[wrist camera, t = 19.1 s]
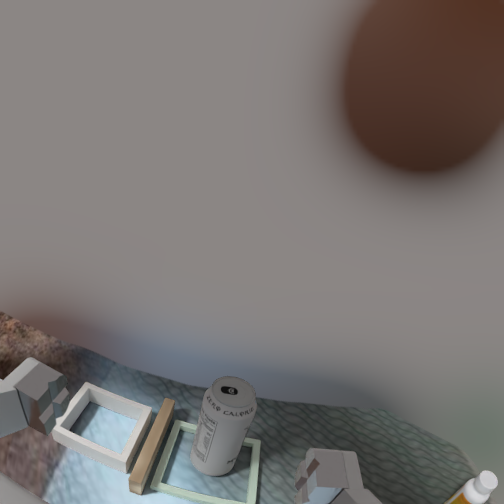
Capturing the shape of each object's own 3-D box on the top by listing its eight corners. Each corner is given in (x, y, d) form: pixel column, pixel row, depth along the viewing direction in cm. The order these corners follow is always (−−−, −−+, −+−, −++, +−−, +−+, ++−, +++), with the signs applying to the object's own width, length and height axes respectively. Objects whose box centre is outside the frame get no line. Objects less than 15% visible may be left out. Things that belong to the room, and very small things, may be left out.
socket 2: (150, 488, 29) (150, 485, 29) (175, 423, 41) (175, 419, 41) (252, 513, 29) (254, 510, 28) (259, 444, 41) (260, 440, 41)
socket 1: (54, 440, 30) (50, 427, 29) (87, 394, 40) (86, 381, 40) (126, 473, 30) (125, 462, 29) (151, 420, 40) (152, 407, 40)
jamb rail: (129, 491, 27) (128, 479, 26) (163, 412, 43) (165, 397, 42) (141, 495, 27) (140, 483, 26) (172, 415, 43) (175, 400, 42)
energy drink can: (233, 481, 33) (263, 413, 29) (187, 475, 33) (204, 405, 28) (232, 449, 39) (259, 377, 35) (191, 442, 38) (207, 368, 34)
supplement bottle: (460, 529, 24) (501, 494, 21) (435, 523, 26) (476, 488, 23) (463, 506, 28) (500, 470, 26) (439, 499, 31) (476, 464, 28)
